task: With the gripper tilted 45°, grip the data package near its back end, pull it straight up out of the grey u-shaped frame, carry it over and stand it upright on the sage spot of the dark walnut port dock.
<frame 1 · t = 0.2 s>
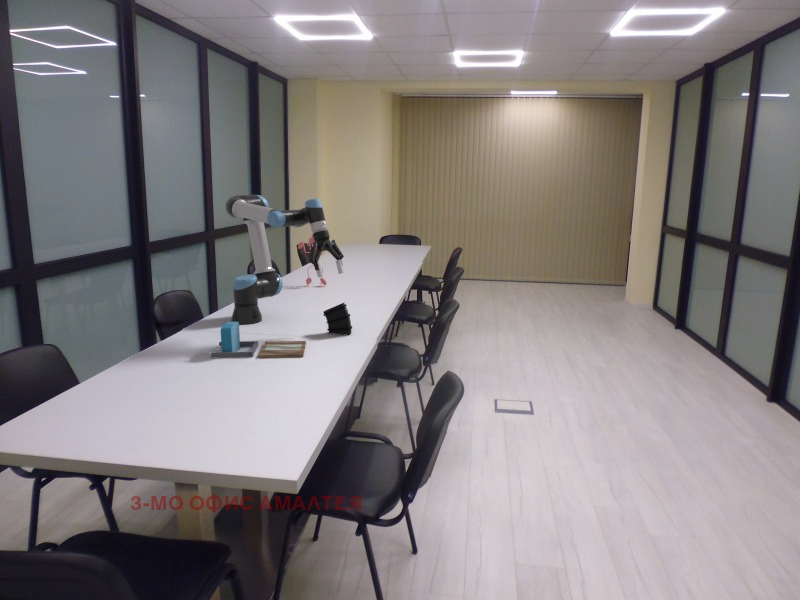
hand: (331, 275, 269), 28 cm above the table, tool tilted 20°, fingers open, 13 cm apart
port dock: (283, 350, 246), on the table
data package: (231, 351, 244), on the table
magazine: (337, 333, 273), on the table
figurine: (317, 285, 392), on the table
grey u-shaped frame: (231, 351, 244), on the table
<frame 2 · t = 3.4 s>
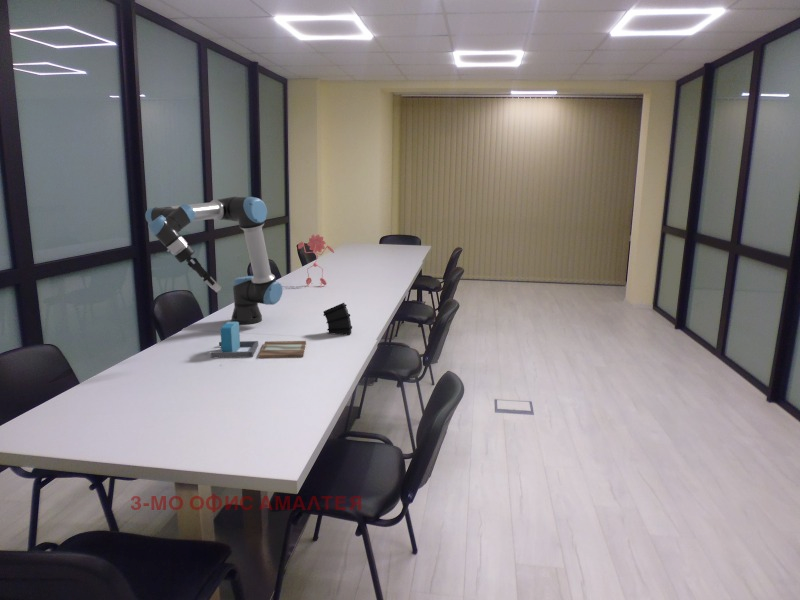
hand: (217, 289, 240), 27 cm above the table, tool tilted 35°, fingers open, 13 cm apart
nothing on the table moved.
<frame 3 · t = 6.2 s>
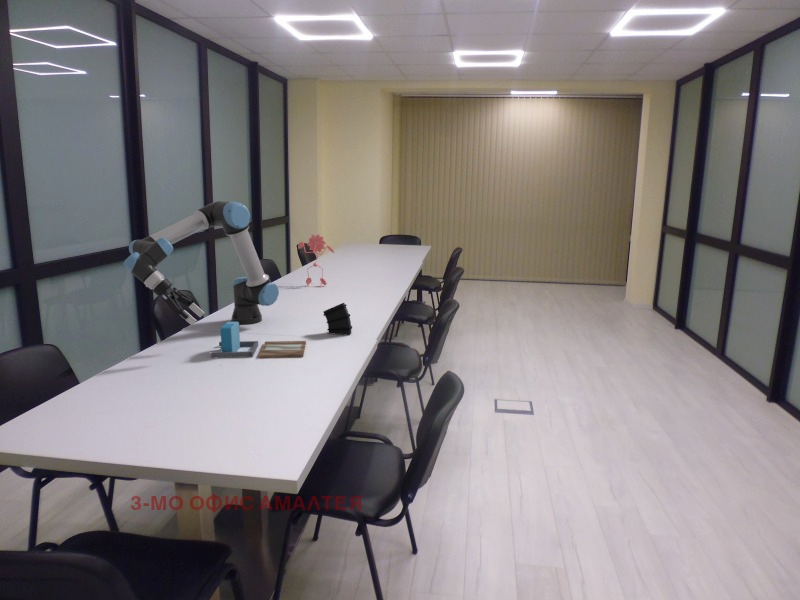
hand: (198, 319, 239), 15 cm above the table, tool tilted 45°, fingers open, 13 cm apart
nothing on the table moved.
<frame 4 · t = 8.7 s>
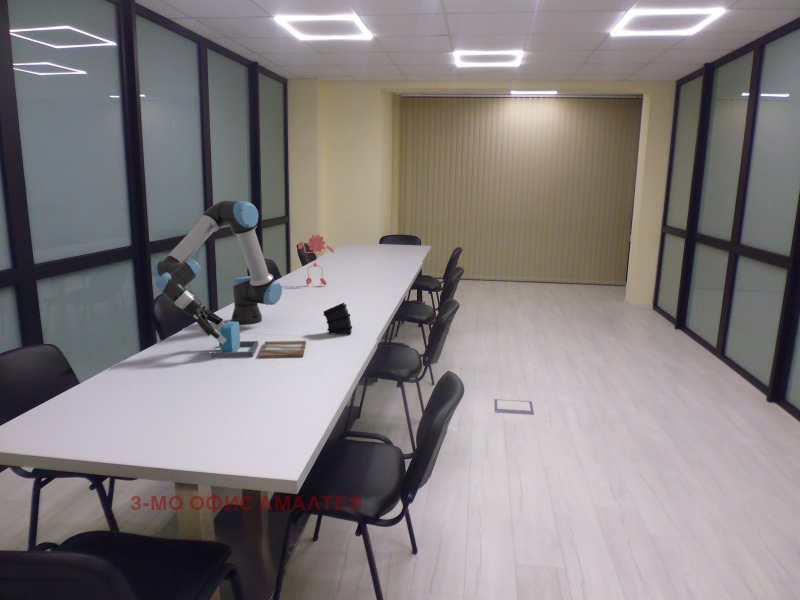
hand: (228, 337, 242), 6 cm above the table, tool tilted 45°, fingers closed on data package, 12 cm apart
data package: (231, 351, 244), on the table, touching gripper
everything else where it was.
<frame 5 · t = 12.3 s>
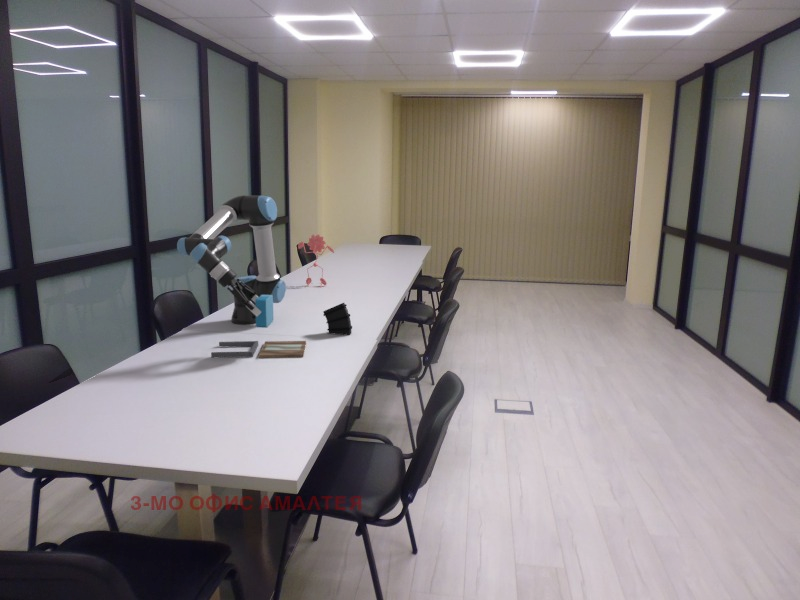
hand: (262, 310, 240), 18 cm above the table, tool tilted 45°, fingers closed on data package, 12 cm apart
data package: (264, 325, 241), point 12 cm above the table, touching gripper
everything else where it was.
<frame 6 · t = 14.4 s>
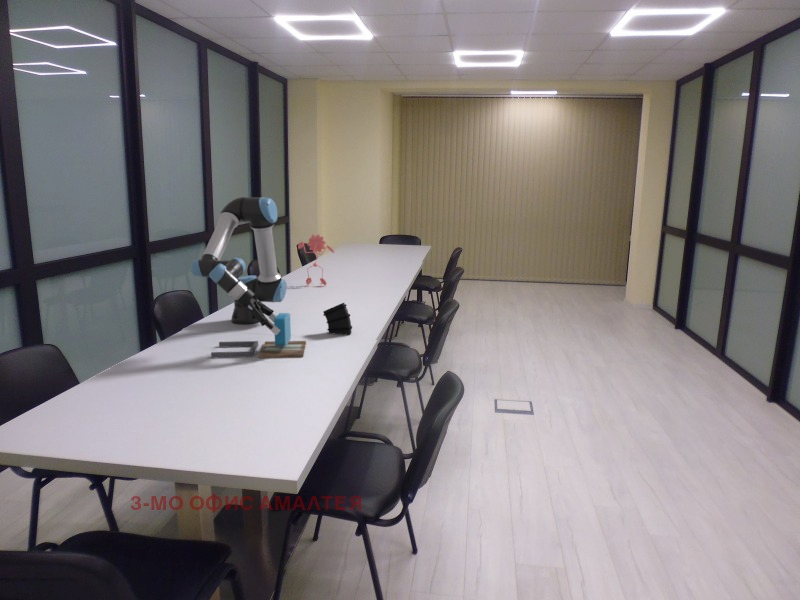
hand: (280, 329, 243), 10 cm above the table, tool tilted 45°, fingers closed on data package, 12 cm apart
data package: (283, 343, 245), point 3 cm above the table, touching gripper
everything else where it was.
when the fingers open (8 cm above the table, at t = 15.4 s): data package moves 1 cm, resting on port dock.
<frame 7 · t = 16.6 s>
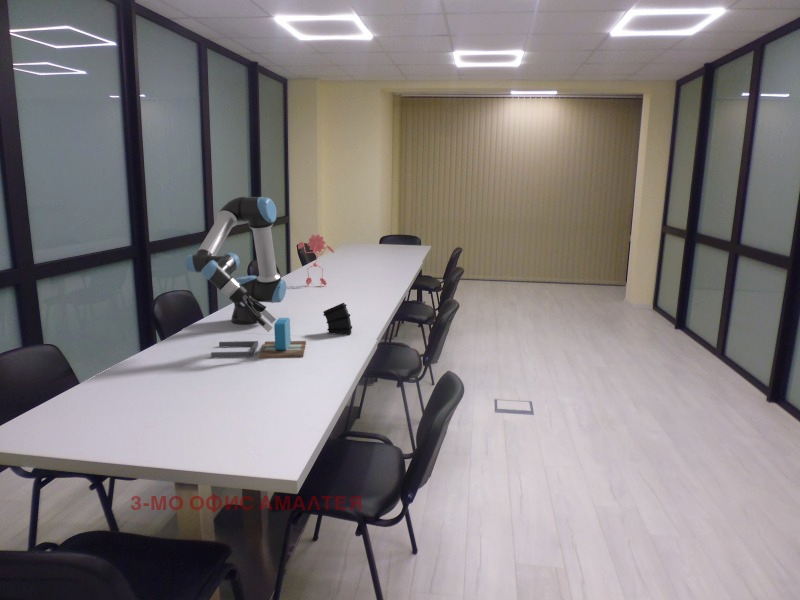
hand: (272, 325, 243), 11 cm above the table, tool tilted 45°, fingers open, 13 cm apart
data package: (283, 347, 246), point 1 cm above the table, touching port dock
everything else where it was.
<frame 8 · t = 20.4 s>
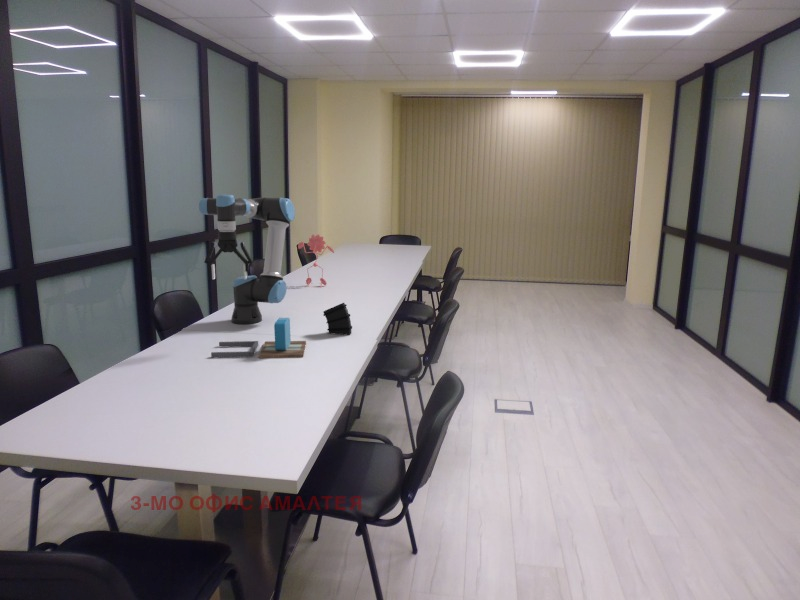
hand: (229, 279, 252), 29 cm above the table, tool pointing down, fingers open, 13 cm apart
nothing on the table moved.
at the end: data package inside the target area on the port dock (0.1 cm from its centre), point 1.2 cm above the port dock's base; data package tilted 0°; the gripper is holding nothing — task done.
